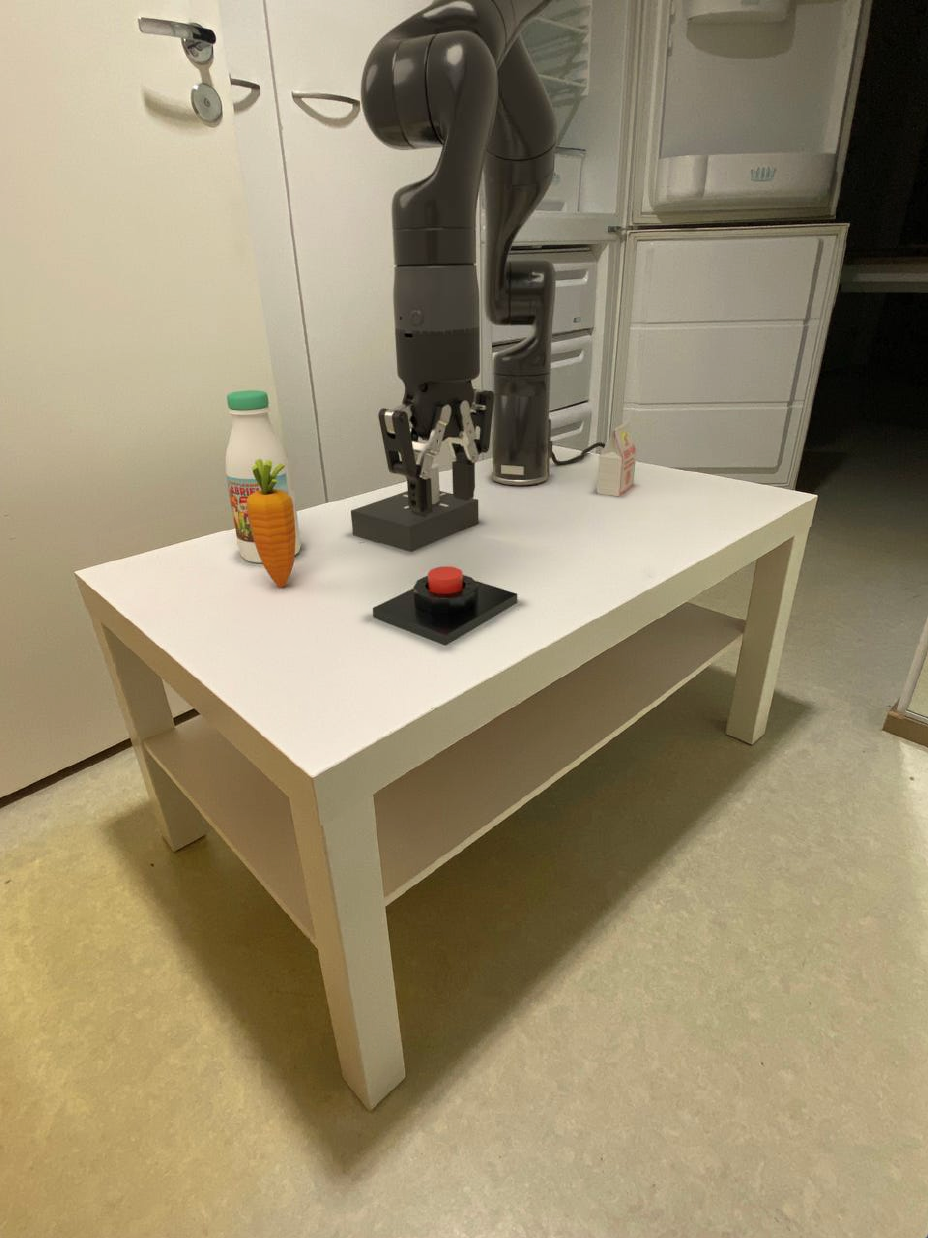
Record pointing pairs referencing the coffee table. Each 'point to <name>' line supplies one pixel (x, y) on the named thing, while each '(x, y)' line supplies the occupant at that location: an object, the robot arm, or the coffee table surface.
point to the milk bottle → (253, 462)
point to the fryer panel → (413, 521)
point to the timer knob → (434, 482)
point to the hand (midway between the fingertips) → (443, 506)
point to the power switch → (444, 609)
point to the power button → (445, 580)
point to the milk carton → (617, 463)
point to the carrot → (272, 523)
